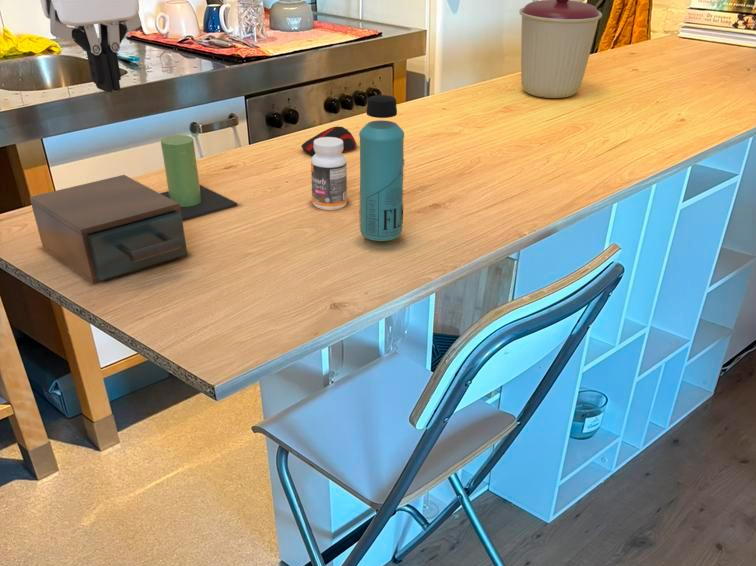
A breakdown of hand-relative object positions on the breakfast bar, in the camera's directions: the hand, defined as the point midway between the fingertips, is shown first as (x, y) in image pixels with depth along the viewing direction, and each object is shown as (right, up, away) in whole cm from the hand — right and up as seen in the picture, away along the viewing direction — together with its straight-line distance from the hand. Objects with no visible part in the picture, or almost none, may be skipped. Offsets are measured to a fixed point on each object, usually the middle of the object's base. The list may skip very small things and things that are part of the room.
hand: (108, 88), depth 98 cm
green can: (+1, -1, +34) cm, 34 cm away
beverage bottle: (+33, -11, +24) cm, 42 cm away
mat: (+1, -1, +34) cm, 34 cm away
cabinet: (-6, -14, +20) cm, 24 cm away
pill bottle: (+24, -1, +35) cm, 43 cm away
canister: (+72, +47, +92) cm, 126 cm away
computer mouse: (+23, +18, +57) cm, 64 cm away
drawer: (-3, -15, +17) cm, 23 cm away
